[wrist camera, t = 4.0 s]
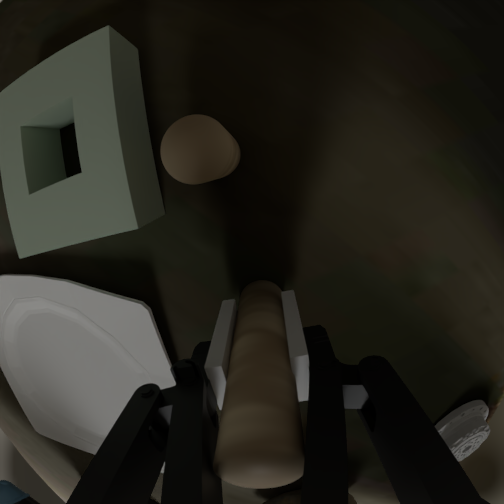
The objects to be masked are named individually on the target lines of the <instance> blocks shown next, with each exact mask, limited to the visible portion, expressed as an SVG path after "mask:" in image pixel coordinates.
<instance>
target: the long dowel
mask: <svg viewBox="0 0 504 504" xmlns="http://www.w3.org/2000/svg"><path fill="white" fill-rule="evenodd" d="M281 292H282V291H281V289H280V288H279V287H278V286H277V285H276V284H274V283H273V282H270V281H267V280H258V281H254V282H251V283H250V284H248V285H247V286H246V287H245V288H244V289H243V291H242V293H241V295H240V301H239V307H238V313H237V319H236V326H235V332H234V338H233V344H232V350H231V356H230V362H229V369H228V375H227V381H226V387H225V393H224V400H223V406H222V412H221V418H220V425H219V431H218V437H217V443H216V450H215V456H214V462H213V470H214V472H215V473H216V475H217V476H218V477H220V478H221V479H222V480H224V481H226V482H228V483H231V484H233V485H237V486H240V487H246V488H255V489H265V488H274V487H280V486H284V485H287V484H289V483H292V482H294V481H296V480H297V479H299V478H300V477H301V476H302V475H303V471H304V459H305V448H304V440H303V431H302V423H301V415H300V407H299V400H298V392H297V385H296V379H295V376H294V374H293V372H292V369H291V363H290V355H289V348H288V340H287V332H286V325H285V317H284V310H283V303H282V296H281Z"/></svg>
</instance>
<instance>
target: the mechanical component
mask: <svg viewBox="0 0 504 504" xmlns="http://www.w3.org/2000/svg"><path fill="white" fill-rule="evenodd" d="M488 411H489V409H488V407H487V405H486V404H485V403H484V402H483V401H482V400H474V401H471V402H468V403H466V404H464V405H462V406H460V407H459V408H457V409H455V410H453V411H452V412H451V413H449V414H448V415H447V416H445V417H444V418H443V419H442V420H440V421H439V422H438V423H437V424H436V425H435V428H436V429H437V431H438V432H439V434H440V435H441V437H442V438H443V440H444V441H445V443H446V444H447V446H448V447H449V449H450V450H451V452H452V453H453V455H454V456H455V458H456V459H457V461H461V460H463V459H464V458H465V457H468V456H469V454H471V453H472V452H473V451H474V450H475V449H477V448H479V446H480V444H481V443H482V442H483V441H484V440H485V439H486V438H487V436H488V435H489V434H490V433H489V432H490V429H489V425H488V424H487V423H486V421H485V420H486V418H487V416H488Z"/></svg>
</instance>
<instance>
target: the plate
mask: <svg viewBox="0 0 504 504" xmlns="http://www.w3.org/2000/svg"><path fill="white" fill-rule="evenodd" d="M171 366H172V364H171V362H170V359H169V357H168V354H167V352H166V349H165V347H164V344H163V341H162V339H161V336H160V333H159V331H158V328H157V325H156V322H155V320H154V317H153V314H152V311H151V308H150V307H148V306H147V305H146V304H145V303H144V302H143V301H139V300H136V299H132V298H128V297H125V296H121V295H118V294H114V293H110V292H107V291H104V290H100V289H97V288H94V287H90V286H87V285H84V284H81V283H77V282H74V281H71V280H67V279H60V278H53V277H46V276H39V275H27V274H3V275H0V367H1V369H2V371H3V373H4V375H5V377H6V379H7V381H8V383H9V385H10V387H11V389H12V391H13V393H14V395H15V396H16V398H17V400H18V402H19V404H20V406H21V407H22V409H23V411H24V413H25V415H26V416H27V418H28V420H29V421H30V423H31V425H32V426H33V428H34V429H35V431H36V432H38V433H39V434H41V435H43V436H46V437H48V438H50V439H53V440H55V441H58V442H60V443H63V444H66V445H68V446H71V447H74V448H77V449H80V450H83V451H85V452H88V453H91V454H94V455H95V454H96V453H97V451H98V449H99V448H100V446H101V445H102V443H103V441H104V440H105V438H106V436H107V435H108V433H109V432H110V430H111V428H112V427H113V425H114V424H115V422H116V420H117V419H118V417H119V416H120V414H121V412H122V411H123V409H124V408H125V406H126V405H127V403H128V401H129V400H130V398H131V397H132V395H133V394H134V392H135V391H136V389H137V388H139V387H140V386H142V385H144V384H149V383H153V384H157V385H158V386H159V387H160V389H165V388H169V387H173V386H175V385H176V382H175V380H174V378H173V375H172V373H171V371H170V368H171ZM164 466H165V462H164V465H163V467H162V470H161V473H164Z"/></svg>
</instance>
